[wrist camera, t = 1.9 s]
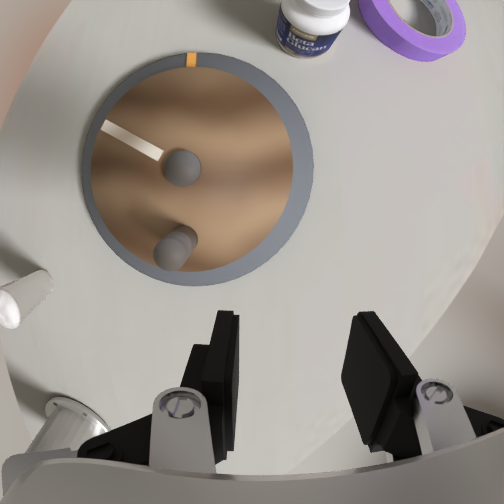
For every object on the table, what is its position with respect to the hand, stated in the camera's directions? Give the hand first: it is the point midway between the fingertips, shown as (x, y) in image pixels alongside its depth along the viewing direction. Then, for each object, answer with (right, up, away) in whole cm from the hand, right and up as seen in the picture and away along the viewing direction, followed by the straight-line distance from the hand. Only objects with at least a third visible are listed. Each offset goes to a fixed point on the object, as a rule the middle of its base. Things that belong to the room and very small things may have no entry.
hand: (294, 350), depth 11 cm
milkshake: (-27, 0, +21) cm, 34 cm away
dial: (-7, +11, +15) cm, 20 cm away
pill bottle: (+3, +24, +13) cm, 28 cm away
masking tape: (+15, +29, +12) cm, 35 cm away
